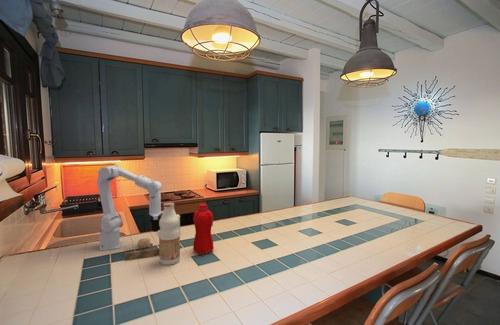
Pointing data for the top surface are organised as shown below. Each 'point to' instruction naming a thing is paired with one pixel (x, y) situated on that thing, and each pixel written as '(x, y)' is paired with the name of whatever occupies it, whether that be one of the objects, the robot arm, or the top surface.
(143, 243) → the tan rounded pebble
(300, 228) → the top surface
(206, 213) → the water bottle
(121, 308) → the top surface
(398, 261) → the top surface
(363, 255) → the top surface
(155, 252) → the mortise joint
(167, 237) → the fruit juice
